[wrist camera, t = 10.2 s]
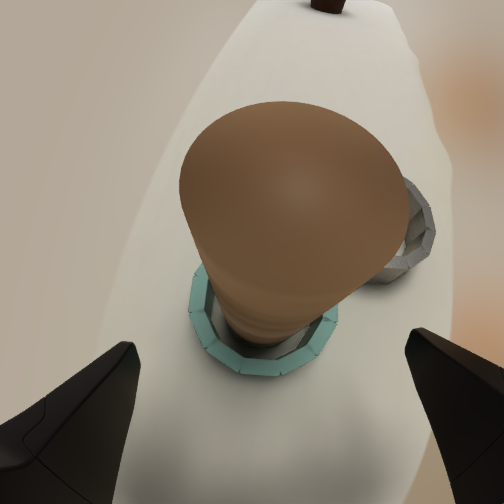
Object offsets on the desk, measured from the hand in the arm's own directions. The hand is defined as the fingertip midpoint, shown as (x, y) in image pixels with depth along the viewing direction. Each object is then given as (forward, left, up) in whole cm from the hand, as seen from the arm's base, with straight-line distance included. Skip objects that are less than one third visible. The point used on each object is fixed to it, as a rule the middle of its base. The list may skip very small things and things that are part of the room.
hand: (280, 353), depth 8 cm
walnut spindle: (+3, 0, -8) cm, 9 cm away
